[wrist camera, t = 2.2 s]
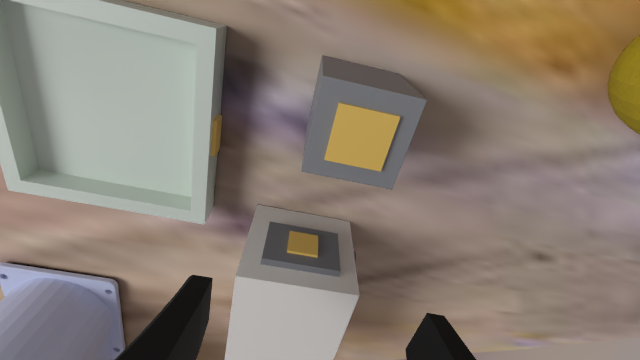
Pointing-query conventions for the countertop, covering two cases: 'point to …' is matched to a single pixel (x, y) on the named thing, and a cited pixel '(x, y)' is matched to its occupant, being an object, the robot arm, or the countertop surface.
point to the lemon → (626, 85)
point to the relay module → (360, 123)
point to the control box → (292, 288)
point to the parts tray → (111, 105)
